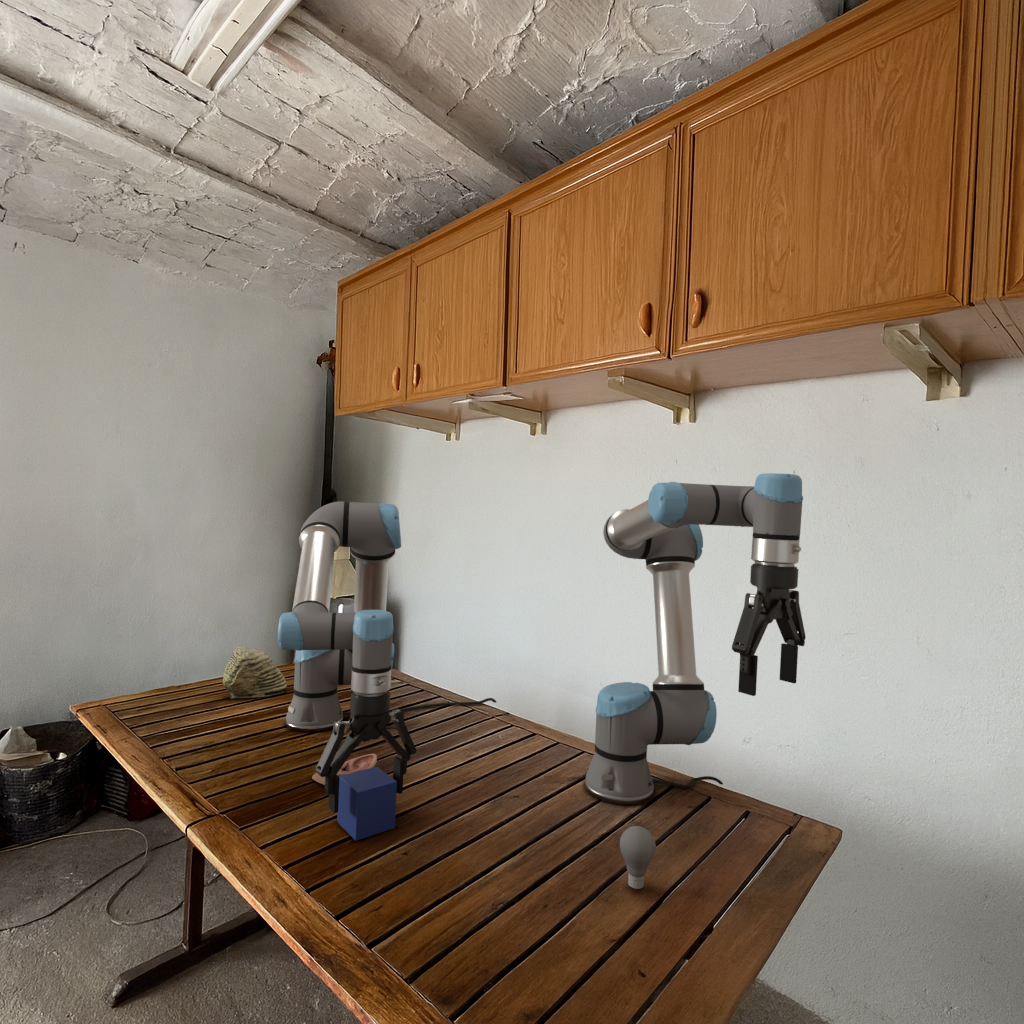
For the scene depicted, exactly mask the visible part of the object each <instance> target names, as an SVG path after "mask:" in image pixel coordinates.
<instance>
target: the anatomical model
mask: <svg viewBox="0 0 1024 1024" xmlns="http://www.w3.org/2000/svg"><path fill="white" fill-rule="evenodd" d="M377 761H378V756H377V754H376V753H368V754H363V755H360V756H357V757H354V758H351V759H347V760H346V761H345V763H344V764H343V766H342V767H341V769H340V770H339V771H338V773H337V774H336V775H338V776H342V775H346V774H350V773H354V772H358V771H361V770H365V769H369V768H373V767H376V764H377ZM311 779H312V780H313V781H315V782H317V783H318V784H321V785H323V786H325V777H321V776H320V775H319V774H318V773H317V772H315V773H314V774H313V775H312V776H311Z"/></svg>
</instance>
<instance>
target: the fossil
mask: <svg viewBox="0 0 1024 1024" xmlns="http://www.w3.org/2000/svg"><path fill="white" fill-rule="evenodd" d="M222 676H223V677H222V685H223V687H224V688H225V690H226V691H228V693H229V698H230V699H250V698H264V697H271V696H275V695H281V694H284V693H285V691H286V689H287V687H288V686H287V680H286V678H285V676H284V674H283V673H282V672H281V669H279V668H278V667H277V665H276V663H275V662H274V660H273V659H272V658H271V657H270V656H269V655H268V654H267V653H266V652H265V650H264V649H263V648H260V647H258V648H251V647H247V646H246V647H245V646H238V647H237V648H236V649H235V650H233V651H232V653H231V656H230V657H229V659H228V660H227V663H226V666H225V668H224V671H223V675H222Z"/></svg>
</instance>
